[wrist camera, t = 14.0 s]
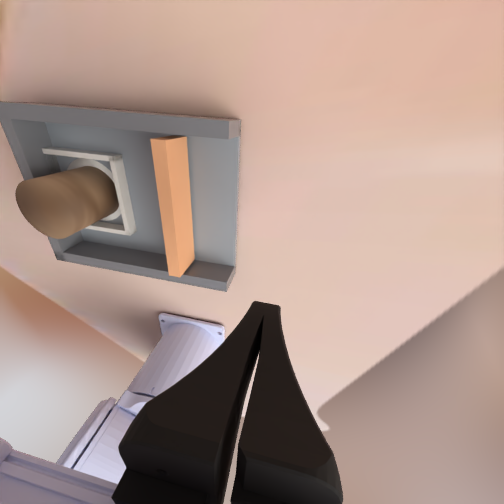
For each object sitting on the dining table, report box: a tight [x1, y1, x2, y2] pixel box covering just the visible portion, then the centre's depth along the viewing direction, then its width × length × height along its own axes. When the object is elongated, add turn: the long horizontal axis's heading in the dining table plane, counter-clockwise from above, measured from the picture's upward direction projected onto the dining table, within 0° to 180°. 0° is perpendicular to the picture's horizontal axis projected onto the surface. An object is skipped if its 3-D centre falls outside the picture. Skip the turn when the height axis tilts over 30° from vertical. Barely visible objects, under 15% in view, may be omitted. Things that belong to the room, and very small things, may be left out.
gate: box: [150, 135, 195, 277], centre depth 19 cm, size 10×1×3 cm, turn 176°
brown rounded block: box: [16, 166, 119, 239], centre depth 19 cm, size 4×4×5 cm
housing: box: [0, 101, 241, 292], centre depth 20 cm, size 13×17×3 cm
